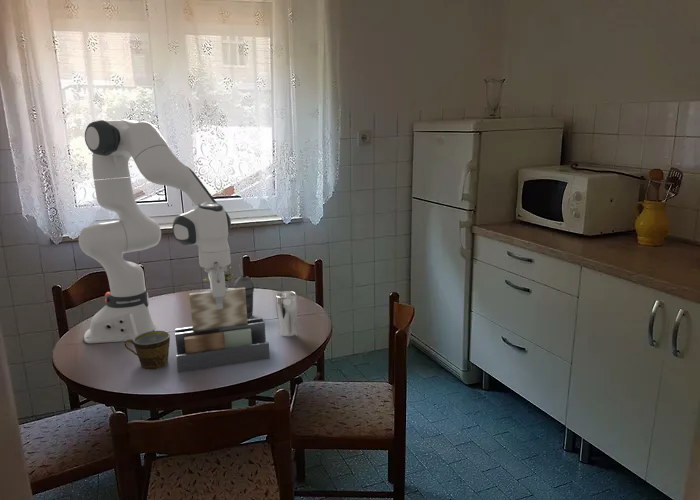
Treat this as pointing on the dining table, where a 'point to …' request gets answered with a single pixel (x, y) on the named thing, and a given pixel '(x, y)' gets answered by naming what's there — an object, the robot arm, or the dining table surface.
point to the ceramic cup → (151, 349)
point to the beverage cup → (246, 291)
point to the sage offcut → (237, 338)
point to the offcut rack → (224, 355)
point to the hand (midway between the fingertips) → (218, 303)
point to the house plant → (225, 278)
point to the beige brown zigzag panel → (210, 316)
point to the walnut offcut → (204, 342)
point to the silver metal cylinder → (287, 312)
